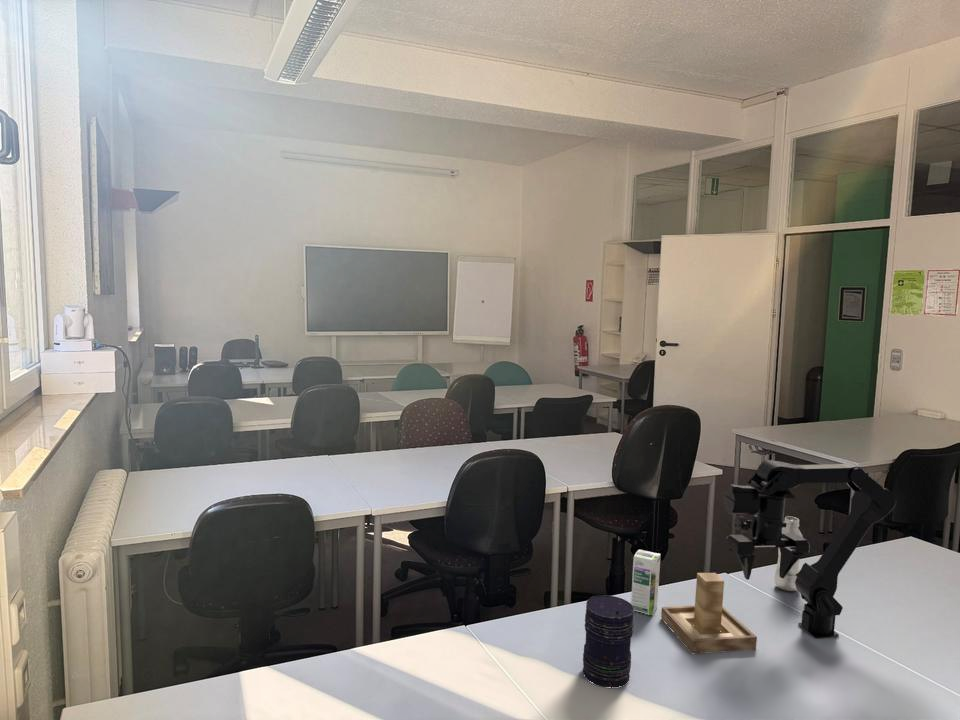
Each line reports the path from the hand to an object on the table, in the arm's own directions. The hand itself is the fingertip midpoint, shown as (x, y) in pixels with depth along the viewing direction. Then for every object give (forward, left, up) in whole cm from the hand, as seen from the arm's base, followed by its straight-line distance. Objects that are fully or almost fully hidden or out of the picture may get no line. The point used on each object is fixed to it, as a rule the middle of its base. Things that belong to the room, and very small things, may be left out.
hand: (764, 578), depth 153 cm
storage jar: (+44, +13, -13) cm, 48 cm away
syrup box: (+24, -13, -13) cm, 30 cm away
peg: (+14, 0, -13) cm, 19 cm away
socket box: (+14, 0, -13) cm, 19 cm away
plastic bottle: (-21, -20, -13) cm, 32 cm away
